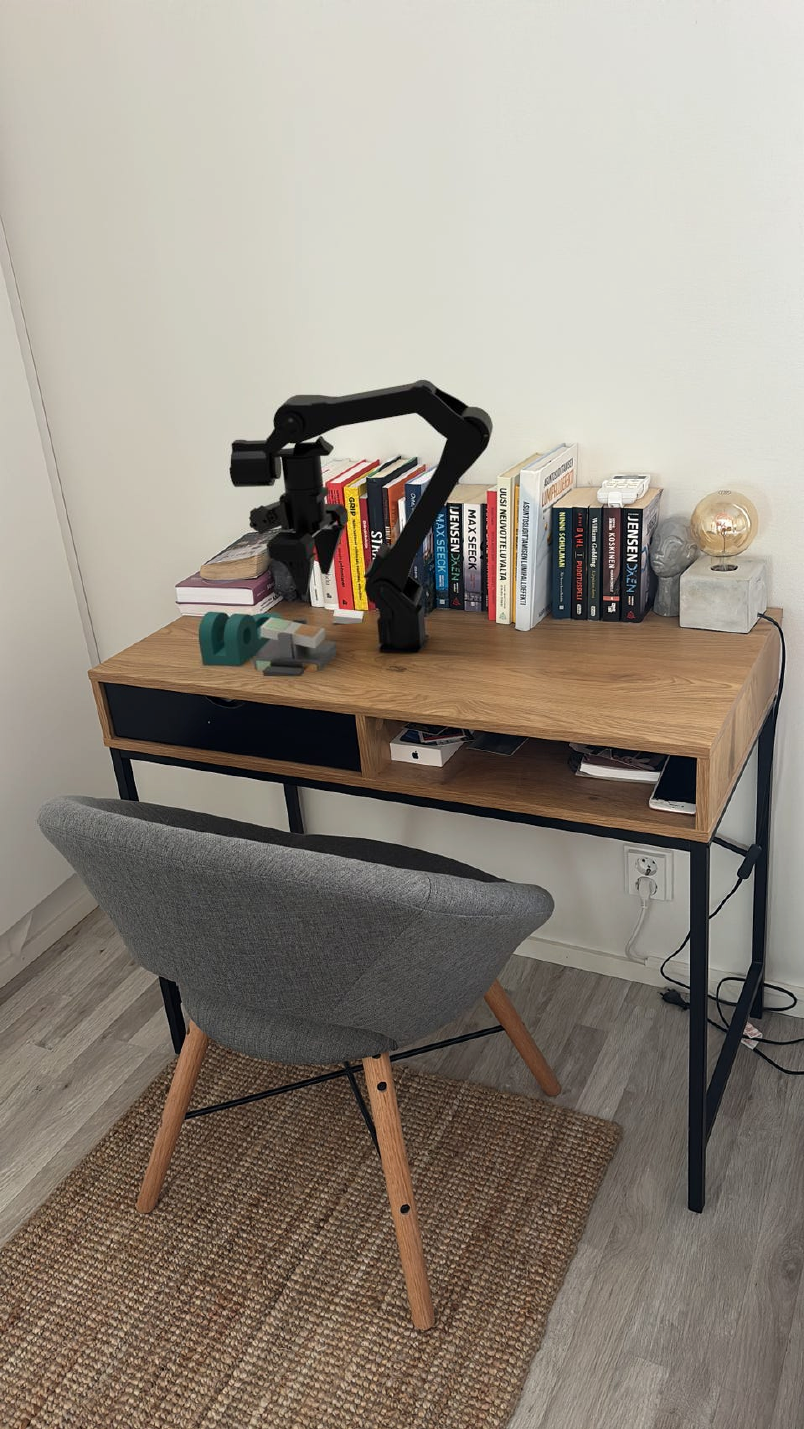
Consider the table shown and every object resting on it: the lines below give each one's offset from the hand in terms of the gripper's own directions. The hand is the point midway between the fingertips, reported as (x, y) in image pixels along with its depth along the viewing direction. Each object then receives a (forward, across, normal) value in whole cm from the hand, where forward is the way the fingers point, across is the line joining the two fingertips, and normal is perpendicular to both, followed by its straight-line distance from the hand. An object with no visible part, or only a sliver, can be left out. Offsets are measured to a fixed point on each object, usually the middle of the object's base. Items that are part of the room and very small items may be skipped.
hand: (314, 584), depth 178 cm
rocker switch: (+6, +5, -2) cm, 8 cm away
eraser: (+12, -11, -2) cm, 16 cm away
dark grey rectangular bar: (+12, +10, -2) cm, 16 cm away
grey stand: (+12, +5, -2) cm, 13 cm away
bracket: (+12, -2, -14) cm, 19 cm away
